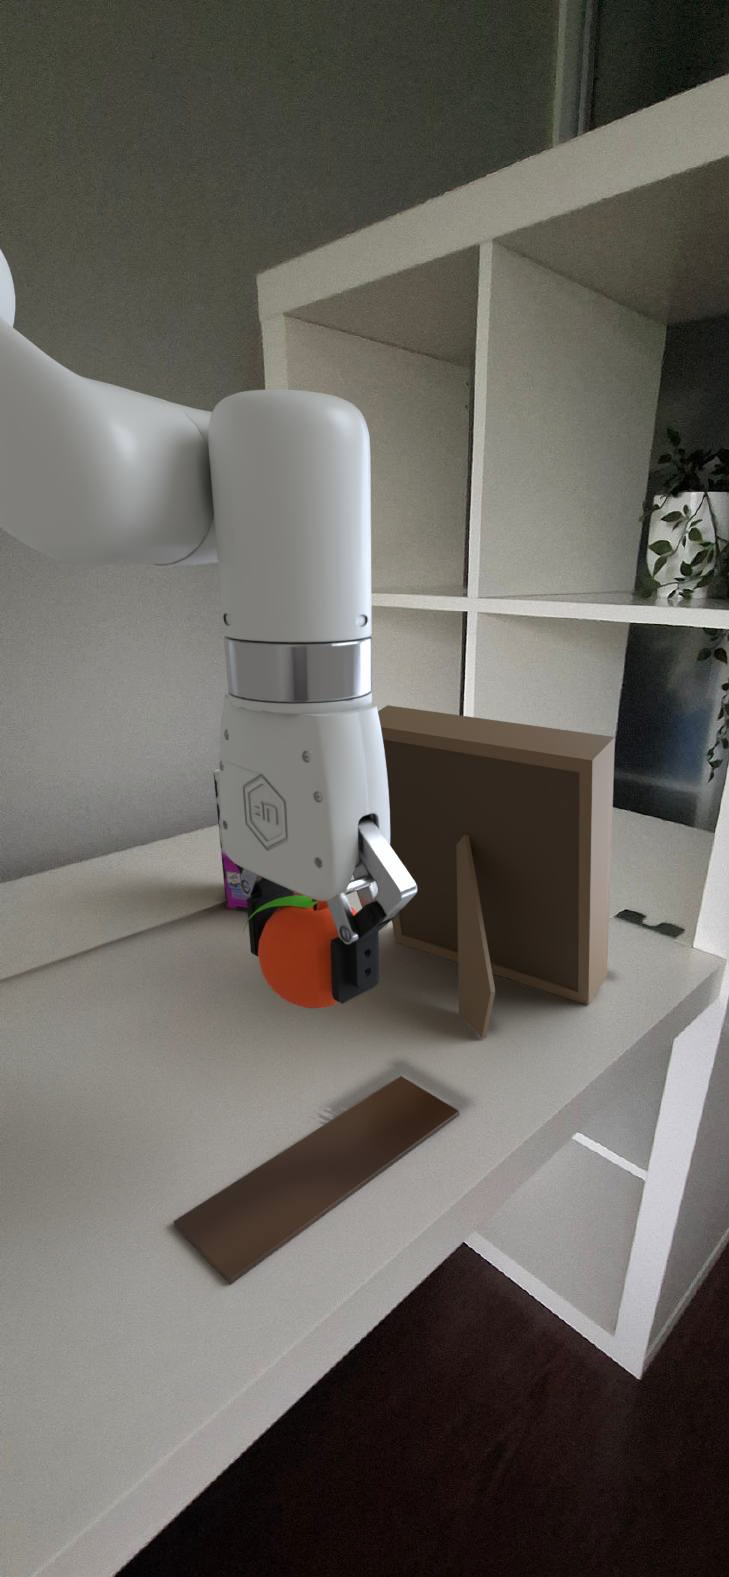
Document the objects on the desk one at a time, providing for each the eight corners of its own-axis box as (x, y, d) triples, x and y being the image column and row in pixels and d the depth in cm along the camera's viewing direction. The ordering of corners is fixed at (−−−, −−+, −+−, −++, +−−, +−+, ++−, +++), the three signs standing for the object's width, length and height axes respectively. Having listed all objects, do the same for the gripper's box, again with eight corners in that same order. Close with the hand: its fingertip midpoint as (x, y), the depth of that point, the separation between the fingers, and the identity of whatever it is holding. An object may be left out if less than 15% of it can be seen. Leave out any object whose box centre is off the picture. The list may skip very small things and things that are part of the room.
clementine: (229, 1024, 46) (220, 916, 43) (262, 967, 52) (256, 870, 49) (362, 1035, 45) (361, 926, 42) (380, 976, 52) (380, 878, 49)
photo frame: (417, 927, 86) (421, 696, 75) (605, 985, 74) (639, 724, 64) (331, 983, 74) (322, 721, 64) (537, 1062, 63) (566, 760, 53)
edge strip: (173, 1225, 48) (173, 1221, 47) (401, 1079, 61) (401, 1075, 61) (230, 1284, 44) (230, 1279, 44) (459, 1115, 57) (459, 1110, 57)
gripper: (148, 662, 43) (182, 944, 51) (362, 704, 33) (366, 1055, 40) (258, 651, 48) (274, 909, 56) (474, 685, 38) (460, 999, 45)
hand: (312, 968), depth 48 cm, fingers closed on clementine, 7 cm apart
